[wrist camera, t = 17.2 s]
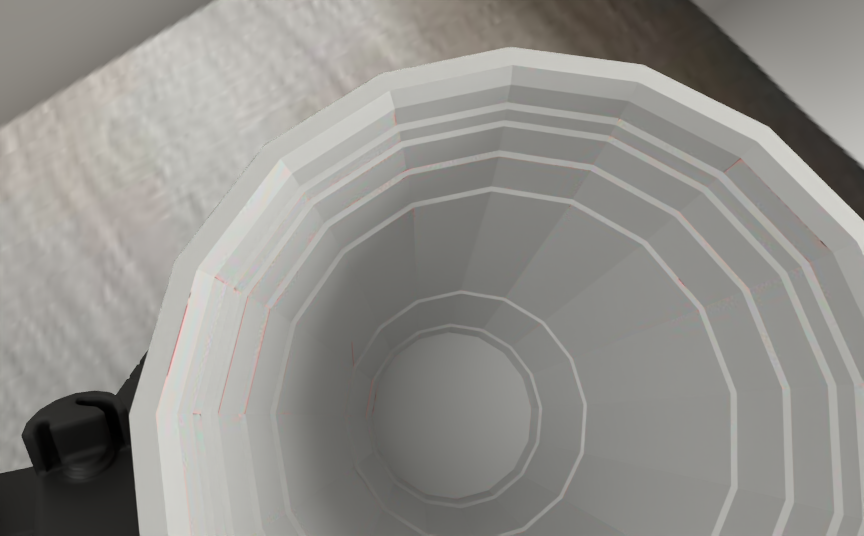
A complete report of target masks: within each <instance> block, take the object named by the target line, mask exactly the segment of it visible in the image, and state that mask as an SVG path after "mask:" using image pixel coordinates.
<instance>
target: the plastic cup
mask: <svg viewBox="0 0 864 536" xmlns="http://www.w3.org/2000/svg"><path fill="white" fill-rule="evenodd" d="M129 423H130V434H131V445H132V456H133V467H134V478H135V489H136V500H137V511H138V522H139V533H140V536H864V221H863V220H862V219H861V218H860V217H859V216H858V215H857V214H856V213H855V212H854V211H853V210H852V209H851V208H850V207H849V206H848V205H847V204H846V203H845V202H844V201H843V200H842V199H841V198H840V197H839V196H838V195H837V194H836V193H835V192H834V191H833V190H832V189H831V188H830V187H829V186H828V185H827V184H826V183H825V182H824V181H823V180H822V179H821V178H820V177H819V176H818V175H817V174H816V173H815V172H814V171H813V170H812V169H811V168H810V167H809V166H808V165H807V164H806V163H805V162H804V161H803V160H802V159H801V158H800V157H799V156H798V155H797V154H796V153H795V152H793V151H792V150H791V149H790V148H789V147H788V146H787V145H786V144H785V143H784V142H783V141H782V140H781V139H780V138H779V137H778V136H777V135H776V134H775V133H774V132H773V131H772V130H771V129H770V128H769V127H767V126H765V125H763V124H761V123H759V122H757V121H755V120H753V119H751V118H749V117H747V116H745V115H743V114H741V113H739V112H737V111H735V110H733V109H731V108H729V107H727V106H725V105H723V104H721V103H719V102H717V101H715V100H713V99H711V98H709V97H707V96H705V95H703V94H701V93H699V92H697V91H695V90H693V89H691V88H689V87H687V86H685V85H683V84H681V83H679V82H677V81H675V80H673V79H671V78H669V77H667V76H665V75H663V74H661V73H659V72H657V71H654V70H652V69H650V68H648V67H646V66H644V65H640V64H633V63H625V62H618V61H610V60H603V59H596V58H588V57H581V56H574V55H566V54H559V53H552V52H544V51H537V50H529V49H522V48H515V47H507V48H503V49H498V50H493V51H488V52H483V53H478V54H473V55H468V56H463V57H459V58H454V59H449V60H444V61H439V62H434V63H429V64H424V65H419V66H415V67H410V68H405V69H400V70H395V71H390V72H385V73H380V74H379V75H377V76H376V77H374V78H372V79H371V80H369V81H367V82H366V83H364V84H363V85H361V86H359V87H358V88H356V89H354V90H353V91H351V92H350V93H348V94H346V95H345V96H343V97H341V98H340V99H338V100H337V101H335V102H333V103H332V104H330V105H328V106H327V107H325V108H324V109H322V110H320V111H319V112H317V113H315V114H314V115H312V116H311V117H309V118H307V119H306V120H304V121H302V122H301V123H299V124H298V125H296V126H294V127H293V128H291V129H289V130H288V131H286V132H285V133H283V134H281V135H280V136H278V137H276V138H275V139H273V140H272V141H270V142H268V143H267V144H265V145H264V146H263V147H262V149H261V150H260V151H259V152H258V154H257V155H256V156H255V158H254V159H253V160H252V161H251V163H250V164H249V165H248V167H247V168H246V169H245V171H244V172H243V173H242V174H241V176H240V177H239V178H238V180H237V181H236V182H235V183H234V185H233V186H232V187H231V189H230V190H229V191H228V193H227V194H226V195H225V196H224V198H223V199H222V200H221V202H220V203H219V204H218V205H217V207H216V208H215V209H214V211H213V212H212V213H211V215H210V216H209V217H208V218H207V220H206V221H205V222H204V224H203V225H202V226H201V228H200V229H199V230H198V231H197V233H196V234H195V235H194V237H193V238H192V239H191V240H190V242H189V243H188V244H187V246H186V247H185V248H184V250H183V251H182V252H181V253H180V255H179V256H178V257H177V259H176V260H175V262H174V265H173V268H172V272H171V275H170V279H169V282H168V285H167V289H166V292H165V295H164V299H163V302H162V306H161V309H160V312H159V316H158V319H157V322H156V326H155V329H154V333H153V336H152V339H151V343H150V346H149V349H148V353H147V356H146V360H145V363H144V366H143V370H142V373H141V376H140V380H139V383H138V387H137V390H136V393H135V397H134V400H133V403H132V407H131V410H130V414H129Z"/></svg>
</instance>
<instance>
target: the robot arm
mask: <svg viewBox="0 0 864 536" xmlns="http://www.w3.org/2000/svg"><path fill="white" fill-rule="evenodd" d="M147 353H148V351H147V352H146V353H145V355H144V356H143V358H142V359H141V360H140V364H139V365H137V366H136V367H135V369H134V370H133V372H132V373H131V374H130V378H129V379H127V380H126V381H125V383H124V384H123V386H122V387H121V389H120V390H119V391H118V393H117V394H116V395H114V394H112V393H110V392H101V391H89V392H81V393H75V394H72V395H69V396H66V397H63V398H61V399H58V400H55V401H54V402H52V403H50V404H49V405H47V406H45V407H44V408H42V409H40V410H39V411H38V412H37V413H36V414H35V415H34V416H33V417H32V418H31V419H30V420H29V421H28V422H27V423H26V426H25V428H24V431H23V433H22V438H23V441H24V444H25V446H26V449H27V451H28V454H29V457H30V459H31V462H32V464H33V467H29V468H25V469H20V470H15V471H10V472H5V473H0V536H140V533H139V522H138V511H137V500H136V489H135V478H134V467H133V456H132V445H131V434H130V423H129V414H130V410H131V407H132V403H133V400H134V397H135V393H136V390H137V387H138V383H139V380H140V376H141V373H142V370H143V366H144V363H145V360H146V356H147Z"/></svg>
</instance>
